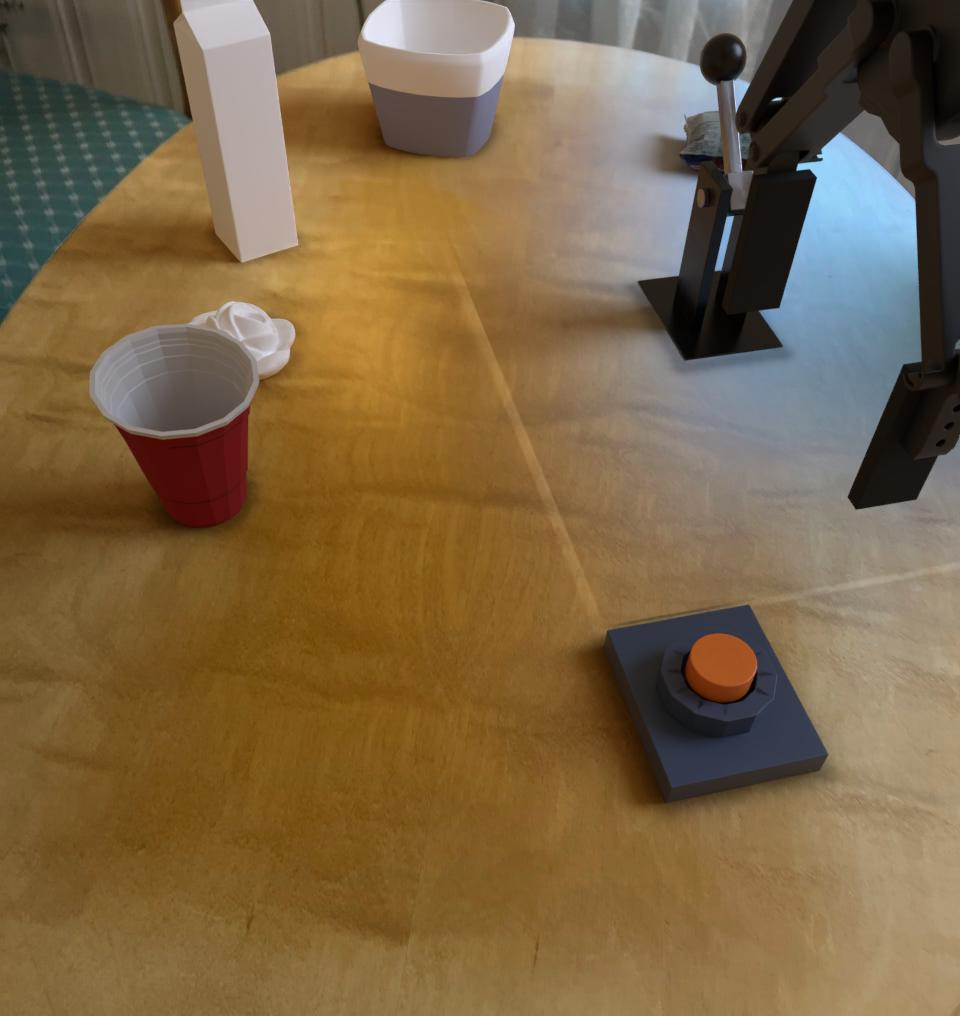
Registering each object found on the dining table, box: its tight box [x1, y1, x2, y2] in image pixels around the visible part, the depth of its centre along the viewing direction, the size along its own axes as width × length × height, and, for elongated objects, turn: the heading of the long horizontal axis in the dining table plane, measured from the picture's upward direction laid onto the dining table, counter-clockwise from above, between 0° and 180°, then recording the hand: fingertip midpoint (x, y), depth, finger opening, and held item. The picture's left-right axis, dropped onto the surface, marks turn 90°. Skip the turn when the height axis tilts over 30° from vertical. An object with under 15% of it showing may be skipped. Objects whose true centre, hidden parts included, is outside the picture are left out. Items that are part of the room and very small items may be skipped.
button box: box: [603, 604, 829, 804], centre depth 63 cm, size 12×10×4 cm
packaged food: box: [677, 110, 752, 173], centre depth 106 cm, size 9×12×5 cm
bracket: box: [638, 158, 784, 361], centre depth 84 cm, size 12×9×14 cm
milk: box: [172, 0, 299, 264], centre depth 88 cm, size 6×6×22 cm
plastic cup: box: [89, 323, 260, 529], centre depth 70 cm, size 11×11×12 cm
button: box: [685, 633, 757, 703], centre depth 61 cm, size 4×4×2 cm
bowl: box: [357, 0, 516, 158], centre depth 106 cm, size 15×15×11 cm
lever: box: [698, 32, 753, 218], centre depth 79 cm, size 13×4×4 cm
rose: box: [186, 301, 296, 381], centre depth 84 cm, size 10×4×10 cm
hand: (809, 395), depth 45 cm, fingers open, 13 cm apart
